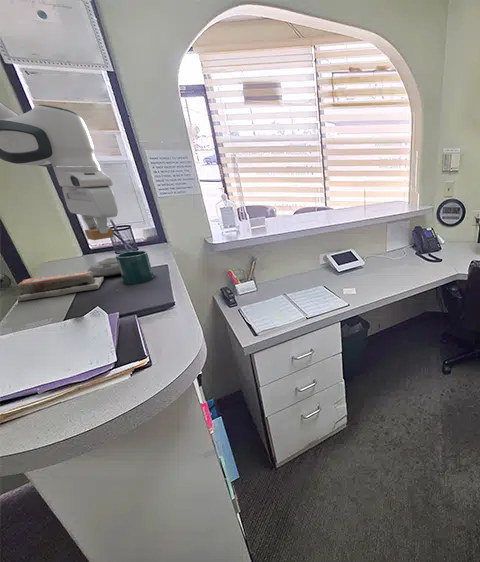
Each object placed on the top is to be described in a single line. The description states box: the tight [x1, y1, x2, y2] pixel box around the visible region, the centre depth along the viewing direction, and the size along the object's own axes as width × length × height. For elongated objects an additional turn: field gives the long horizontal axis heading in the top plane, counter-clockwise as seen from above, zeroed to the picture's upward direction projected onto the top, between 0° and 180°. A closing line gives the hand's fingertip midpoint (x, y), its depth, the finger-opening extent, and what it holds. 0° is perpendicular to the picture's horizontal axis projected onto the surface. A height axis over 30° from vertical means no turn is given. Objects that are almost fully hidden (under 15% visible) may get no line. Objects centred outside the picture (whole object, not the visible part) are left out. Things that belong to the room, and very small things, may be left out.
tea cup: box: [115, 250, 155, 285], centre depth 103 cm, size 8×8×9 cm
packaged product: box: [16, 271, 105, 302], centre depth 95 cm, size 18×5×10 cm
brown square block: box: [84, 227, 115, 241], centre depth 84 cm, size 4×4×2 cm
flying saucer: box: [86, 256, 121, 277], centre depth 110 cm, size 15×15×6 cm
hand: (99, 232), depth 84 cm, fingers closed on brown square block, 4 cm apart
